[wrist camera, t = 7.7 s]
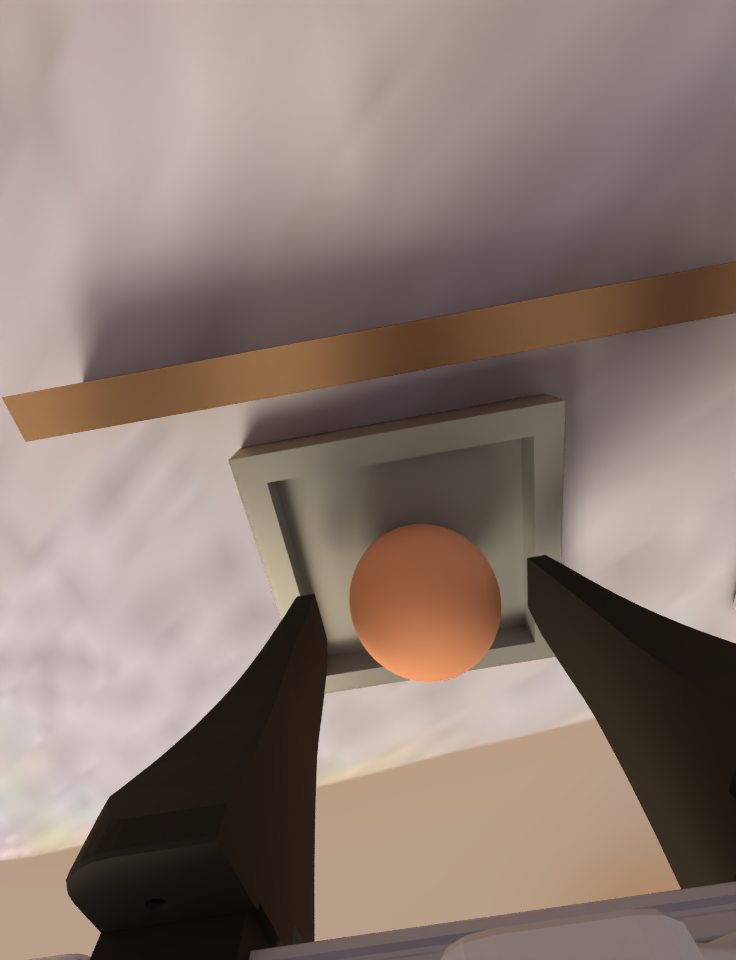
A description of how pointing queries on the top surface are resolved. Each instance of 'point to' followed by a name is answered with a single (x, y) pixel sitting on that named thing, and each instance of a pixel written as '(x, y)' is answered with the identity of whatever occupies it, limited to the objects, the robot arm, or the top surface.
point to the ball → (425, 602)
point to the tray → (409, 512)
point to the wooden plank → (377, 352)
